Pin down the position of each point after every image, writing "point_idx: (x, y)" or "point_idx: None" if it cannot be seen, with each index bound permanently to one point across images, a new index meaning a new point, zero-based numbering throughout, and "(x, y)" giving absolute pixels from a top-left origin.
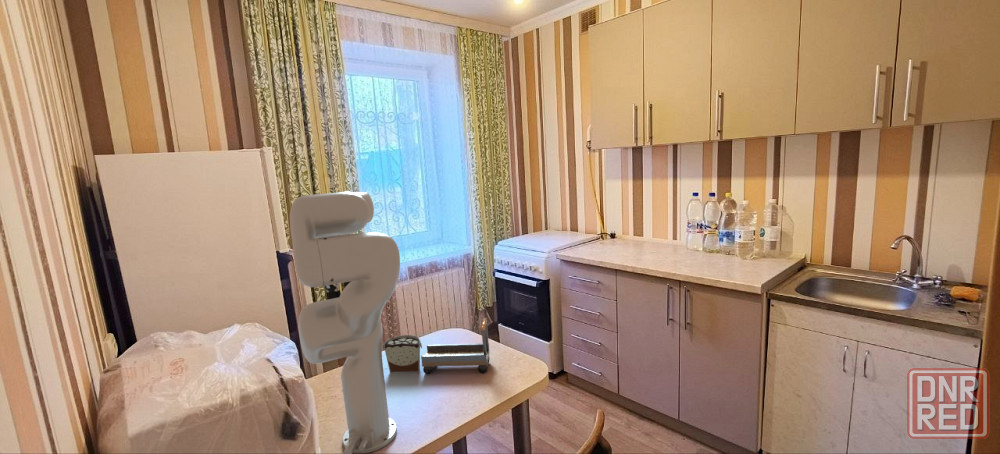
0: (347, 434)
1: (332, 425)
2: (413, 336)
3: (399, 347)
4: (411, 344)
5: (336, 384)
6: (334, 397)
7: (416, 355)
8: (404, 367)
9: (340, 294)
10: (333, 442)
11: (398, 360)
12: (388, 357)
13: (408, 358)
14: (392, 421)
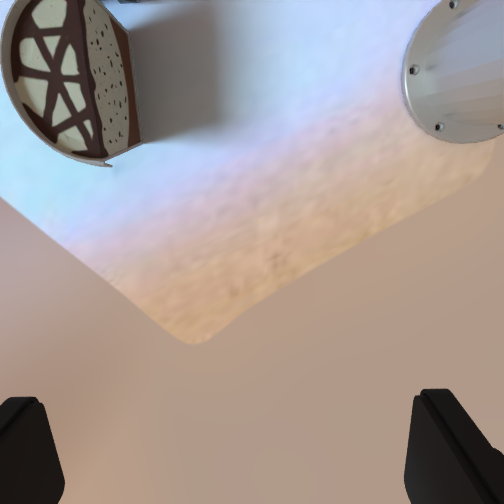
0: (479, 131)
1: (408, 201)
2: (5, 34)
3: (96, 89)
4: (76, 23)
5: (217, 281)
6: (281, 256)
7: (101, 17)
8: (128, 87)
9: (501, 501)
10: (479, 164)
11: (121, 105)
12: (122, 145)
13: (112, 59)
14: (438, 10)
